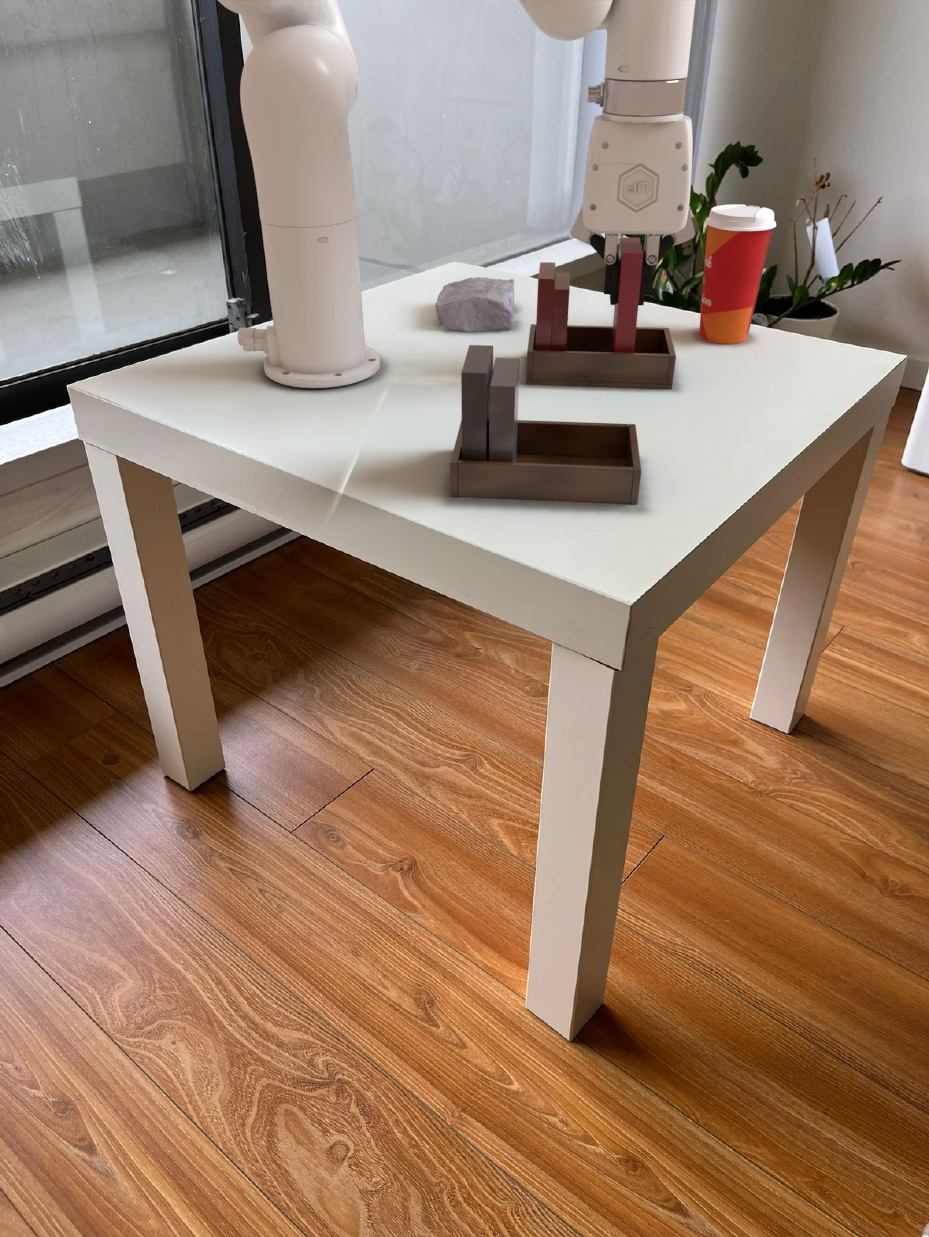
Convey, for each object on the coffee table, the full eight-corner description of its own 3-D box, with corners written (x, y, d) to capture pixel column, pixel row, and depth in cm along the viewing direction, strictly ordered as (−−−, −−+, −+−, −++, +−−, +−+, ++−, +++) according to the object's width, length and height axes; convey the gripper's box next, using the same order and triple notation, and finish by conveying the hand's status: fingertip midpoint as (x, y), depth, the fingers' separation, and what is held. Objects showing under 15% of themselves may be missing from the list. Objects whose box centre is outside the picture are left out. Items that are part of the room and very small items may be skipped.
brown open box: (525, 384, 99) (529, 282, 93) (529, 354, 106) (533, 258, 100) (671, 389, 97) (685, 286, 91) (665, 358, 105) (676, 261, 99)
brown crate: (450, 501, 77) (448, 378, 71) (461, 454, 85) (461, 339, 79) (637, 509, 76) (651, 385, 70) (631, 460, 83) (644, 344, 77)
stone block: (439, 346, 114) (520, 329, 113) (430, 306, 111) (513, 289, 110) (444, 319, 124) (518, 304, 123) (436, 282, 121) (512, 266, 120)
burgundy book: (614, 353, 97) (622, 253, 92) (612, 333, 103) (620, 237, 97) (633, 354, 97) (643, 253, 91) (630, 333, 102) (639, 237, 97)
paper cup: (708, 322, 116) (726, 200, 108) (767, 334, 112) (790, 209, 104) (677, 338, 111) (693, 212, 103) (737, 352, 107) (759, 221, 99)
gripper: (556, 105, 84) (548, 311, 95) (736, 105, 83) (708, 314, 94) (558, 96, 91) (550, 290, 101) (725, 95, 89) (700, 292, 100)
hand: (626, 300), depth 97 cm, fingers closed on burgundy book, 2 cm apart
